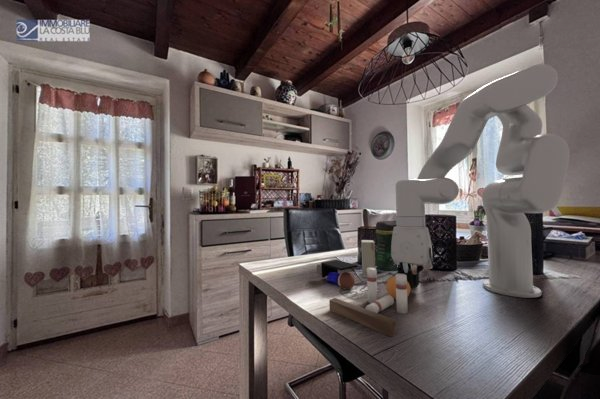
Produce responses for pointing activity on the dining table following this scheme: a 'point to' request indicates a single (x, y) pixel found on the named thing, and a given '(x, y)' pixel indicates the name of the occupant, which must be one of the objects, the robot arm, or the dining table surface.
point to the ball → (394, 287)
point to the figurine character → (331, 273)
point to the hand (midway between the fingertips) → (412, 286)
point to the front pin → (380, 304)
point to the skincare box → (367, 255)
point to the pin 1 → (372, 284)
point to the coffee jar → (385, 245)
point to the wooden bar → (364, 316)
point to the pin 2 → (401, 293)
